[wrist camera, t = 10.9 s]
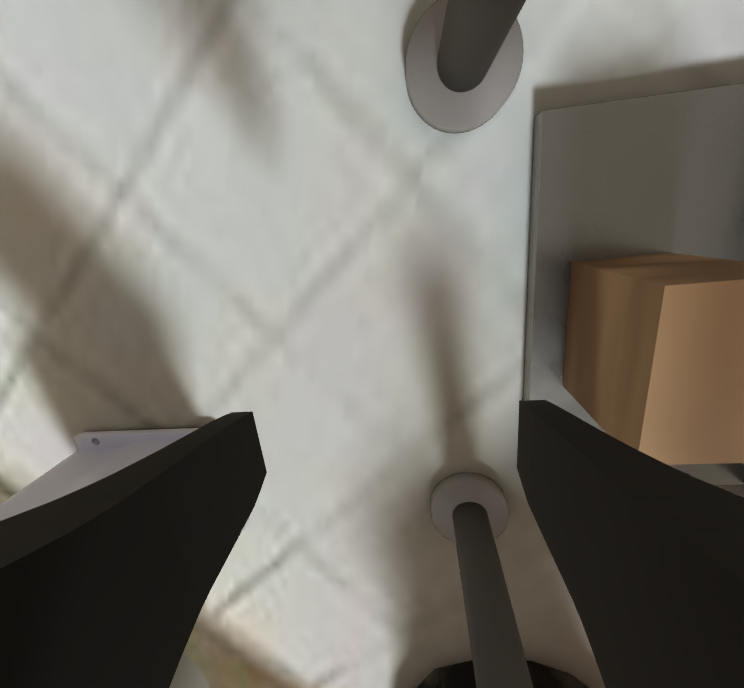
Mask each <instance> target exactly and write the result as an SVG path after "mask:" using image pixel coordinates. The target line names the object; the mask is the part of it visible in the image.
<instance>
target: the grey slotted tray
mask: <svg viewBox="0 0 744 688" xmlns="http://www.w3.org/2000/svg"><path fill="white" fill-rule="evenodd" d="M664 253H678V254H686V255H694V256H702V257H711V258H719V259H727V260H735V261H743V262H744V83H741V84H733V85H726V86H719V87H712V88H704V89H697V90H690V91H682V92H675V93H668V94H661V95H653V96H646V97H639V98H631V99H624V100H617V101H610V102H602V103H595V104H588V105H580V106H573V107H566V108H558V109H551V110H544V111H542V112H541V113H540V114H538V115H537V116H536V117H535V119H534V144H533V168H532V193H531V217H530V242H529V266H528V291H527V315H526V340H525V364H524V389H523V401H526V400H546V401H549V402H551V403H553V404H555V405H557V406H559V407H560V408H562V409H564V410H566V411H568V412H569V413H571V414H573V415H575V416H576V417H578V418H580V419H582V420H583V421H585V422H587V423H589V424H590V425H592V426H594V427H596V428H598V429H599V430H601V431H603V432H605V431H604V430H603V429H602V428H601V427H600V426H599V425H598V423H597V422H596V421H595V420H594V419H593V418H592V417H591V416H590V415H589V414H588V413H587V412H586V411H585V409H584V408H583V407H582V406H581V405H580V404H579V403H578V402H577V401H576V400H575V399H574V398H573V397H572V395H571V394H570V393H569V392H568V391H567V390H566V389H565V388H564V387H563V375H564V362H565V348H566V334H567V321H568V307H569V293H570V280H571V266H572V262H576V261H587V260H598V259H609V258H620V257H631V256H642V255H653V254H664ZM605 433H606V432H605ZM669 466H671V467H673V468H675V469H677V470H680V471H682V472H684V473H686V474H688V475H690V476H693V477H695V478H697V479H700V480H702V481H704V482H707V483H709V484H712V485H741V484H744V463H721V464H677V465H669Z"/></svg>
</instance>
